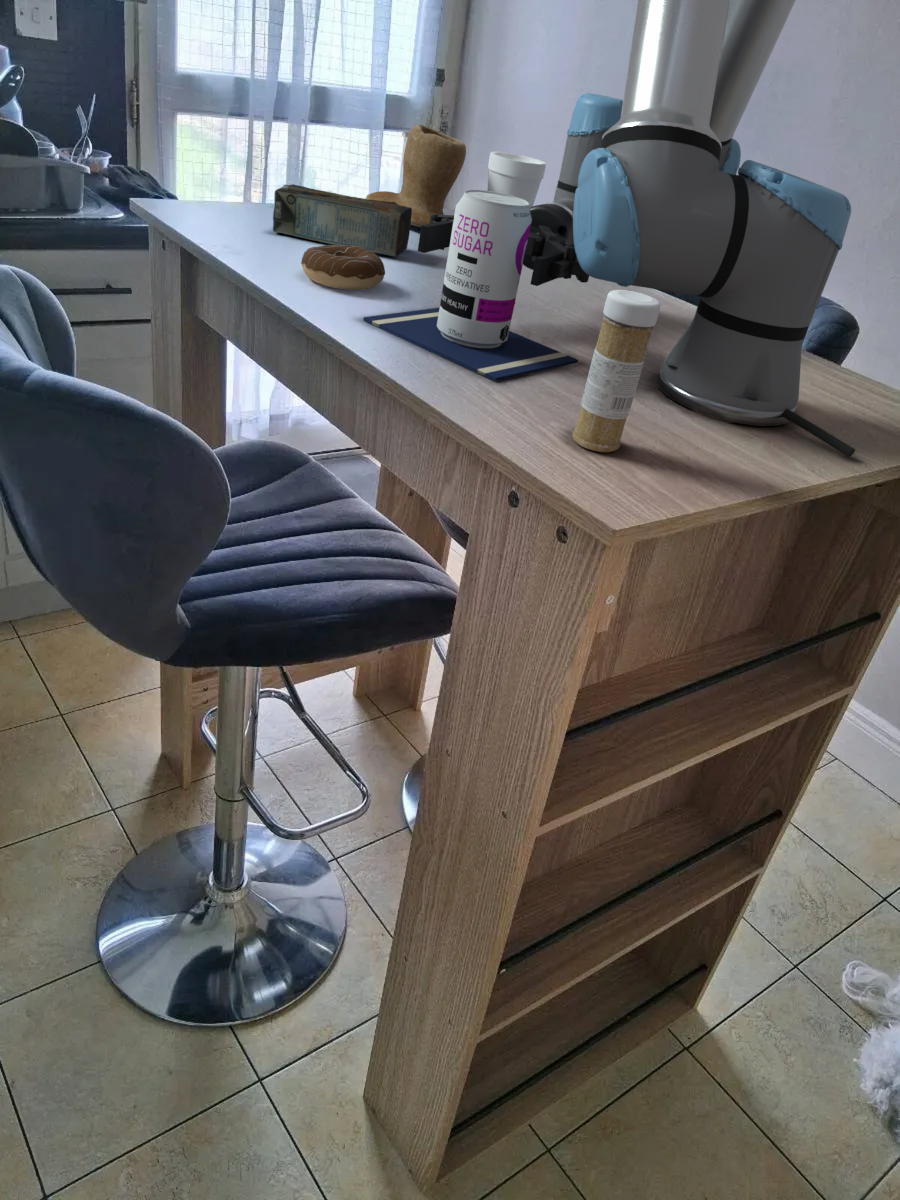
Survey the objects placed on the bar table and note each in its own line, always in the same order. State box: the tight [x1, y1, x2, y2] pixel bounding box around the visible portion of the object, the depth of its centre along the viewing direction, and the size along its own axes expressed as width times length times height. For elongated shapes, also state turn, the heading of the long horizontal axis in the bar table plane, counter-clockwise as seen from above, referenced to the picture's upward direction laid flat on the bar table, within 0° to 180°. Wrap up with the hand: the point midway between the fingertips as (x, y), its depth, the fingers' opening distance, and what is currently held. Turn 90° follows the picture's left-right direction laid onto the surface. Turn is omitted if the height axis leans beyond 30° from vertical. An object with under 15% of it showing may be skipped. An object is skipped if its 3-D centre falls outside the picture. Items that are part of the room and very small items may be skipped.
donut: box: [300, 244, 386, 291], centre depth 113 cm, size 11×11×4 cm
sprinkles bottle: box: [571, 289, 661, 453], centre depth 79 cm, size 5×5×13 cm
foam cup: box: [487, 151, 547, 208], centre depth 152 cm, size 10×9×13 cm
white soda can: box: [437, 188, 532, 348], centre depth 98 cm, size 8×8×15 cm
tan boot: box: [365, 124, 467, 228], centre depth 151 cm, size 15×12×15 cm
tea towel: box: [362, 307, 579, 382], centre depth 102 cm, size 20×15×1 cm
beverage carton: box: [272, 183, 412, 258], centre depth 132 cm, size 8×19×7 cm, turn 81°
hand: (477, 255), depth 95 cm, fingers open, 13 cm apart
